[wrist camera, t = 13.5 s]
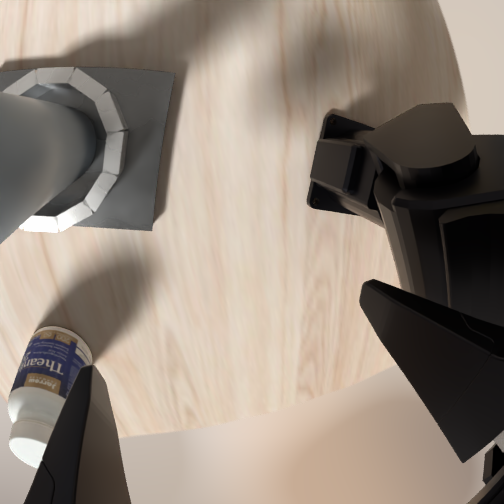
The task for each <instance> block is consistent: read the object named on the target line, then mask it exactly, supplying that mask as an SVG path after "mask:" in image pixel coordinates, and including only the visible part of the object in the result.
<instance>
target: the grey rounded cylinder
mask: <svg viewBox="0 0 504 504" xmlns="http://www.w3.org/2000/svg"><path fill="white" fill-rule="evenodd" d="M95 150H96V135H95V130H94V127H93V125H92V123H91V121H90V120H89V118H88V117H87V116H86V115H85V114H84V113H83V112H81V111H80V110H78V109H76V108H73V107H69V106H65V105H61V104H57V103H52V102H48V101H43V100H39V99H34V98H29V97H24V96H19V95H14V94H9V93H4V92H0V244H1V243H2V242H3V241H4V240H5V239H6V238H7V237H9V236H10V235H11V234H12V233H13V232H14V231H15V230H16V229H17V228H18V227H20V226H21V225H22V224H23V223H24V222H25V221H26V220H28V219H29V218H30V217H31V216H32V215H33V214H35V213H36V212H37V211H38V210H39V209H41V208H42V207H43V206H44V205H45V204H47V203H48V202H49V201H50V200H52V199H53V198H54V197H55V196H57V195H58V194H59V193H60V192H62V191H63V190H64V189H66V188H67V187H68V186H70V185H71V184H72V183H74V182H75V181H76V180H78V179H79V178H80V177H81V176H82V175H83V174H84V173H85V172H86V171H87V169H88V168H89V166H90V165H91V163H92V161H93V158H94V155H95Z"/></svg>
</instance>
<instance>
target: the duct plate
mask: <svg viewBox="0 0 504 504" xmlns="http://www.w3.org/2000/svg"><path fill="white" fill-rule="evenodd" d="M174 77H175V73H171V72H162V71H153V70H141V69H127V68H107V67H52V68H37V69H24V70H14V71H5V72H0V92H4V93H9V94H14V95H19V96H24V97H29V98H34V99H39V100H43V101H48V102H52V103H57V104H61V105H65V106H69V107H73V108H76V109H78V110H80V111H81V112H83V113H84V114H85V115H86V116H87V117H88V118H89V120H90V121H91V123H92V125H93V127H94V130H95V135H96V150H95V155H94V158H93V161H92V163H91V165H90V166H89V168H88V169H87V171H86V172H85V173H84V174H83V175H82V176H81V177H80V178H79V179H78V180H76V181H75V182H74V183H72V184H71V185H70V186H68V187H67V188H66V189H64V190H63V191H62V192H60V193H59V194H58V195H57V196H55V197H54V198H53V199H52V200H50V201H49V202H48V203H47V204H45V205H44V206H43V207H42V208H41V209H39V210H38V211H37V212H36V213H35V214H33V215H32V216H31V217H30V218H29V219H28V220H26V221H25V222H24V223H23V224H22V225H21V226H20V227H19V228H21V229H23V228H25V231H41V232H57V233H58V232H59V231H61V232H62V231H63V230H65V229H67V228H69V227H70V226H83V227H99V228H114V229H129V230H144V231H152V227H153V216H154V206H155V196H156V188H157V179H158V171H159V164H160V157H161V150H162V143H163V137H164V131H165V125H166V119H167V113H168V108H169V102H170V97H171V92H172V87H173V82H174Z"/></svg>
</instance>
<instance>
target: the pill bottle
mask: <svg viewBox="0 0 504 504" xmlns="http://www.w3.org/2000/svg"><path fill="white" fill-rule="evenodd" d="M91 364H92V355H91V352H90V349H89V347H88V346H87V344H86V343H85V342H84V341H83V340H82V339H81V338H80V337H79V336H78V335H77V334H75V333H73V332H72V331H70V330H67V329H64V328H61V327H57V326H47V327H43V328H41V329H39V330H37V331H36V332H35V333H34V334H33V336H32V337H31V339H30V342H29V344H28V346H27V349H26V351H25V354H24V356H23V359H22V362H21V364H20V367H19V369H18V372H17V375H16V378H15V381H14V384H13V387H12V389H11V392H10V395H9V399H8V404H7V408H8V413H9V416H10V419H11V421H12V422H13V426H12V430H11V434H10V439H9V446H10V449H11V450H12V452H13V453H14V454H15V455H16V456H17V457H18V458H19V459H20V460H22V461H23V462H25V463H27V464H29V465H30V466H32V467H34V468H37V469H38V467H39V464H40V462H41V460H42V456H43V454H44V451H45V448H46V446H47V443H48V441H49V438H50V436H51V433H52V431H53V428H54V426H55V423H56V421H57V419H58V416H59V414H60V412H61V409H62V407H63V405H64V403H65V400H66V398H67V396H68V394H69V391H70V389H71V387H72V385H73V383H74V381H75V378H76V376H77V374H78V372H79V370H80V368H81V367H82V366H86V365H91ZM42 461H43V460H42Z"/></svg>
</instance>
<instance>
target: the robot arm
mask: <svg viewBox="0 0 504 504" xmlns="http://www.w3.org/2000/svg"><path fill="white" fill-rule="evenodd" d="M331 118H332V119H333V124H332V125H331V123H330V120H331ZM310 178H311V183H310V188H309V192H308V197H307V204H308V205H309V206H310V207H311V208H314V209H319V210H326V211H332V212H339V213H345V214H351V215H358V216H362V217H364V218H366V219H368V220H370V221H372V222H373V223H375V224H377V225H379V226H381V227H383V228H385V230H386V233H387V236H388V240H389V243H390V247H391V250H392V254H393V258H394V261H395V265H396V269H397V273H398V277H399V281H400V285H401V289H399V288H397V287H394V286H391V285H389V284H386V283H383V282H381V281H378V280H375V279H371V280H369V281H366V282H364V283H363V285H362V289H361V294H360V299H359V302H360V306H361V308H362V310H363V311H364V313H365V315H366V317H367V318H368V320H369V322H370V323H371V325H372V327H373V329H374V330H375V332H376V334H377V336H378V337H379V339H380V340H381V342H382V343H383V345H384V346H385V348H386V349H387V350H388V352H389V353H390V355H391V356H392V358H393V359H394V360H395V362H396V363H397V365H398V366H399V368H400V369H401V370H402V372H403V373H404V374H405V376H406V378H407V379H408V381H409V382H410V383H411V385H412V386H413V388H414V389H415V391H416V392H417V394H418V395H419V397H420V398H421V400H422V401H423V403H424V404H425V406H426V407H427V409H428V410H429V412H430V413H431V415H432V416H433V418H434V419H435V421H436V422H437V423H438V426H439V427H440V429H441V430H442V432H443V433H444V435H445V437H446V438H447V440H448V441H449V443H450V445H451V446H452V447H453V449H454V451H455V453H456V454H457V456H458V457H459V459H460V461H461V462H462V463H464V462H466V461H467V460H468V459H470V458H471V457H472V456H474V455H475V454H476V453H478V452H479V451H480V450H481V449H483V448H484V447H485V446H486V445H487V444H489V443H490V442H491V441H492V440H494V442H495V444H494V445H493V446H492V447H491V448H490V449H489V450H488V451H487V453H486V454H485V461H484V473H483V481H484V483H485V484H486V485H485V487H484V488H483V489H482V490H481V491H480V492H479V493H478V494H477V495H476V496H475V497H474V498H472V499H471V500H470V502H468V503H467V504H504V135H472V134H471V133H470V131H469V129H468V128H467V126H466V124H465V122H464V121H463V119H462V118H461V116H460V114H459V113H458V111H457V110H456V108H455V106H454V105H453V103H434V104H421V105H417V106H416V107H414V108H412V109H410V110H408V111H407V112H405V113H403V114H401V115H399V116H398V117H396V118H394V119H392V120H391V121H389V122H387V123H385V124H384V125H382V126H380V127H378V128H377V129H375V128H372V127H369V126H367V125H364V124H361V123H358V122H355V121H353V120H350V119H347V118H344V117H341V116H338V115H334V114H328V115H326V116H325V118H324V121H323V126H322V131H321V136H320V140H319V141H318V142H317V146H316V151H315V156H314V160H313V165H312V170H311V174H310ZM315 198H316V199H317V201H316V203H314V204H313V199H315ZM42 460H43V461H42ZM42 460H41V462H40V464H39V467H38V470H37V473H36V475H35V478H34V480H33V483H32V485H31V488H30V490H29V492H28V495H27V497H26V499H25V502H24V504H131V500H130V496H129V492H128V487H127V483H126V478H125V473H124V468H123V463H122V457H121V451H120V445H119V439H118V433H117V428H116V423H115V419H114V415H113V411H112V407H111V403H110V398H109V394H108V389H107V385H106V382H105V380H104V378H103V377H102V375H101V374H100V373H99V371H98V370H97V368H96V367H95V366H94V365H93V364H91V365H86V366H82V367H81V368H80V370H79V372H78V374H77V376H76V378H75V381H74V383H73V385H72V387H71V389H70V391H69V394H68V396H67V398H66V400H65V403H64V405H63V407H62V409H61V412H60V414H59V416H58V419H57V421H56V423H55V426H54V428H53V431H52V433H51V436H50V438H49V441H48V443H47V446H46V448H45V451H44V454H43V456H42Z"/></svg>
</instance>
